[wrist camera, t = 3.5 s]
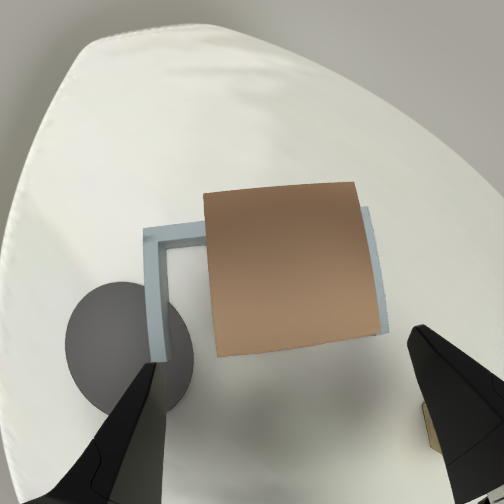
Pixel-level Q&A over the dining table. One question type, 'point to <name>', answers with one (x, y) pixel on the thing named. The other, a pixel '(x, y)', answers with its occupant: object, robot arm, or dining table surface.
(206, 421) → the dining table surface
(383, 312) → the grey u-frame
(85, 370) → the coaster
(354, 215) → the walnut block
